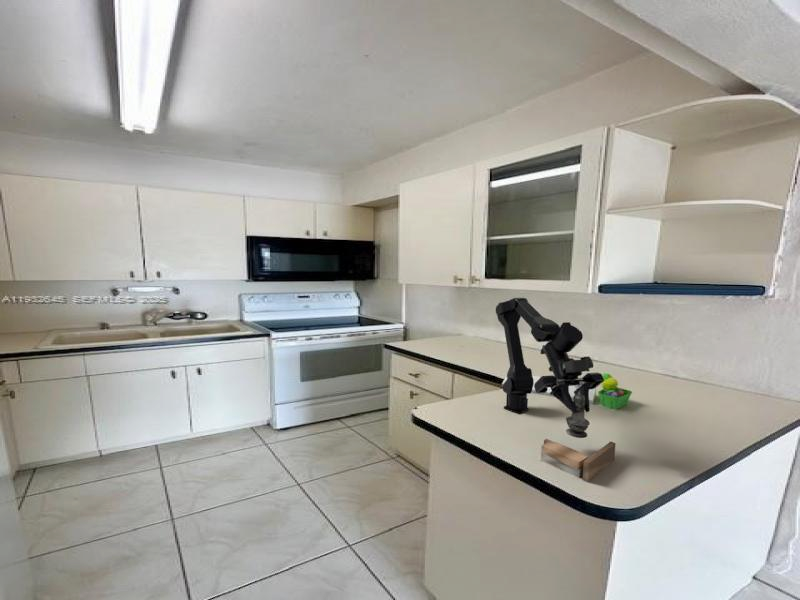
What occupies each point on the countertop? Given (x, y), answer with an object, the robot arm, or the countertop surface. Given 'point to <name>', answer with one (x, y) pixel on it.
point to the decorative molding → (571, 390)
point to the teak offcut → (563, 455)
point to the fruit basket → (613, 393)
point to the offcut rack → (595, 460)
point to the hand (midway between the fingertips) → (581, 412)
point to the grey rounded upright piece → (578, 418)
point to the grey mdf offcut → (561, 465)
